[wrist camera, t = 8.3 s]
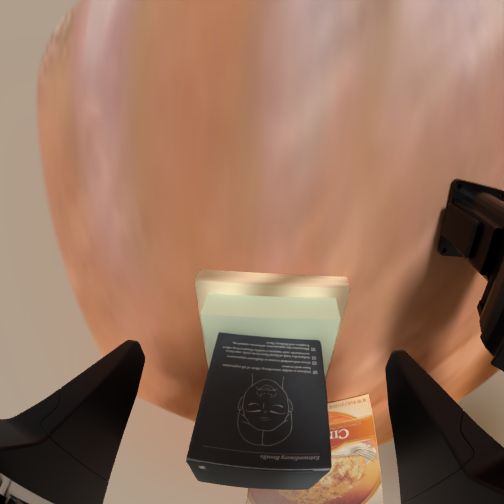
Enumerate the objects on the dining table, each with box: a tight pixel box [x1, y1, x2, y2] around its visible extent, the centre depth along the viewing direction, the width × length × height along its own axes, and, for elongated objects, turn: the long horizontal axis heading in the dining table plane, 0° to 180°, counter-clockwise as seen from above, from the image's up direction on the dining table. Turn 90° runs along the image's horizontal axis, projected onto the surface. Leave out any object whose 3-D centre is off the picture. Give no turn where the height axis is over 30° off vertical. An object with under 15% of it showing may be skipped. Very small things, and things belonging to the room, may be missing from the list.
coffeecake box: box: [246, 394, 383, 504], centre depth 24 cm, size 15×7×20 cm, turn 111°
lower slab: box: [195, 269, 350, 378], centre depth 25 cm, size 12×12×2 cm
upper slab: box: [201, 293, 340, 377], centre depth 23 cm, size 10×10×2 cm
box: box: [186, 332, 332, 490], centre depth 17 cm, size 8×6×11 cm
